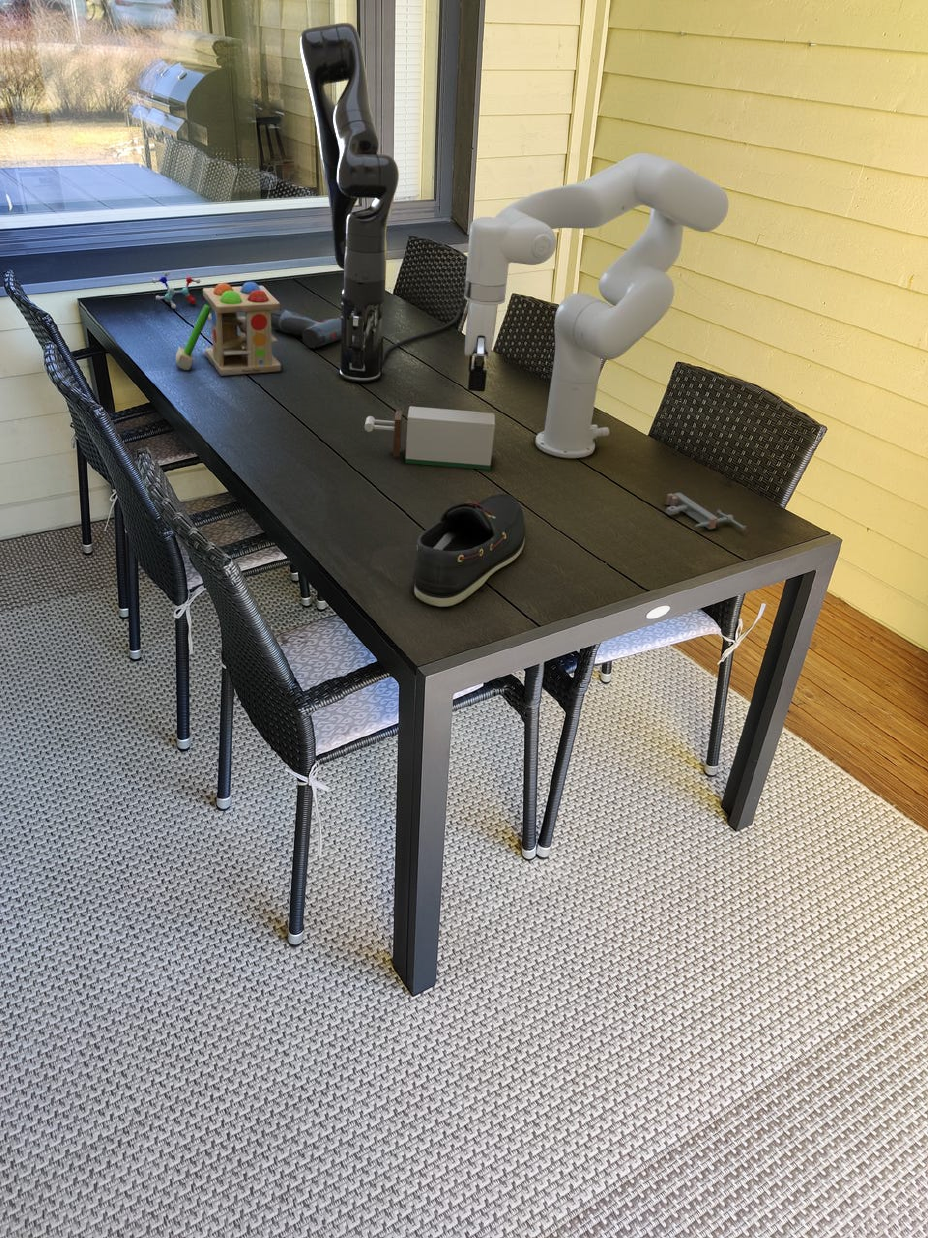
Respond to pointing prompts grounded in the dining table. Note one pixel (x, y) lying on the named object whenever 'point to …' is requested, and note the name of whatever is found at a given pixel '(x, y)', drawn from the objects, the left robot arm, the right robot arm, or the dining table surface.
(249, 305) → the pounding bench toy
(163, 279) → the molecular model
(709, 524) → the clamp
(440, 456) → the cabinet
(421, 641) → the dining table surface
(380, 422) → the drawer
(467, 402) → the dining table surface
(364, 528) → the dining table surface
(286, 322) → the power drill
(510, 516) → the boat shoe
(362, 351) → the left robot arm
